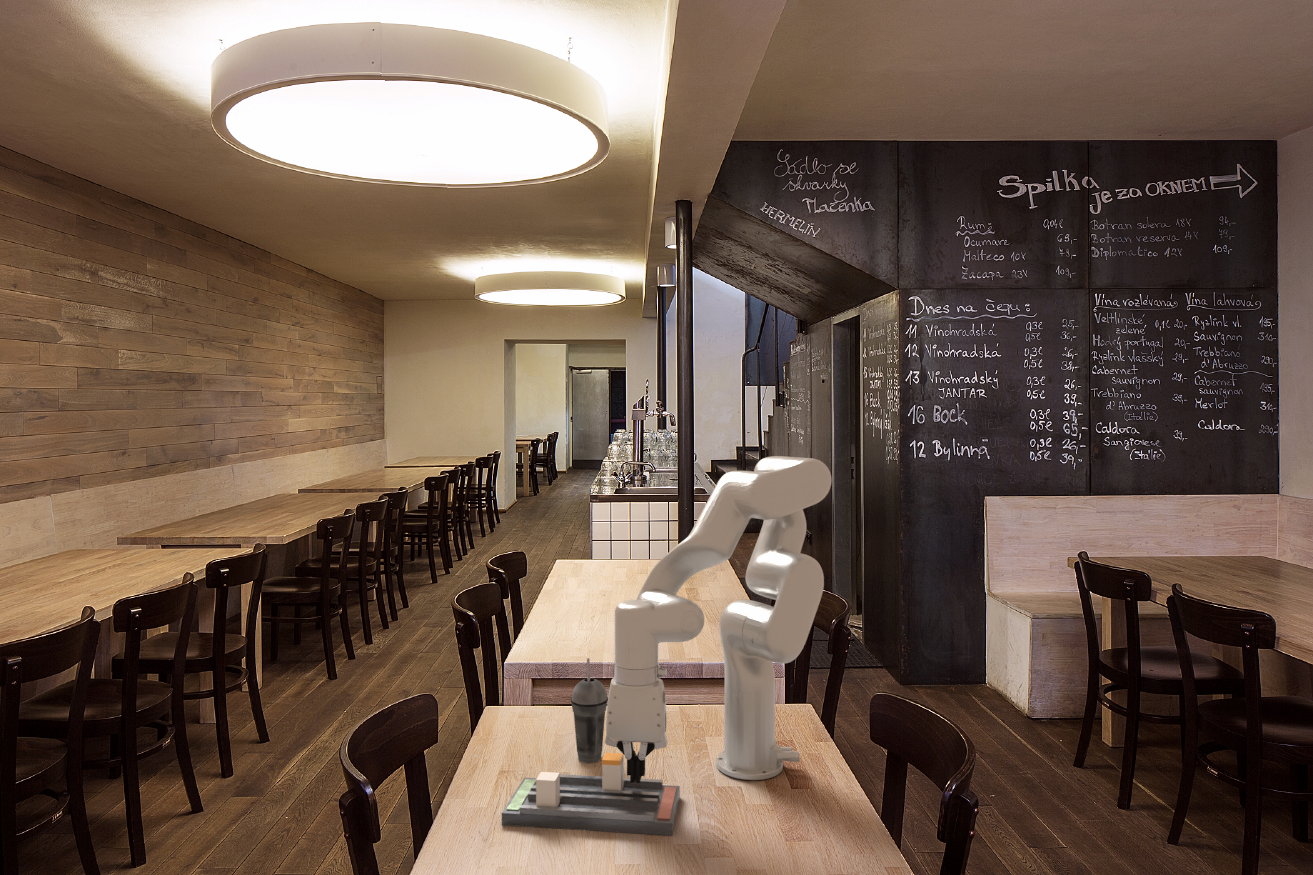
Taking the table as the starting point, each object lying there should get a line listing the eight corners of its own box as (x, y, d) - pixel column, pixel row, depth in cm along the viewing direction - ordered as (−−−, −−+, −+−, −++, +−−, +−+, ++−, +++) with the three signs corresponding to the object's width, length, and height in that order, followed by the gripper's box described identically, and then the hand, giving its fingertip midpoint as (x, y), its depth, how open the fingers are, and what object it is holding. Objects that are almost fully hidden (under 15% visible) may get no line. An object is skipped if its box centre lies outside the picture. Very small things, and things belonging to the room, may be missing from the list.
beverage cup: (611, 751, 161) (610, 651, 160) (605, 767, 153) (604, 662, 153) (575, 749, 161) (574, 650, 161) (567, 765, 154) (567, 661, 154)
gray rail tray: (679, 797, 141) (679, 780, 141) (672, 835, 128) (672, 816, 128) (524, 788, 145) (524, 771, 145) (501, 824, 132) (501, 806, 132)
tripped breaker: (623, 786, 141) (623, 753, 141) (620, 794, 138) (620, 760, 138) (605, 785, 141) (605, 752, 141) (602, 793, 138) (602, 759, 138)
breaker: (559, 802, 135) (559, 772, 135) (555, 810, 132) (555, 780, 132) (541, 800, 135) (541, 771, 135) (536, 809, 133) (536, 779, 132)
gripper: (681, 668, 141) (681, 772, 142) (597, 665, 143) (597, 767, 143) (677, 682, 134) (677, 791, 134) (589, 678, 136) (589, 786, 136)
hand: (636, 779), depth 139 cm, fingers closed
